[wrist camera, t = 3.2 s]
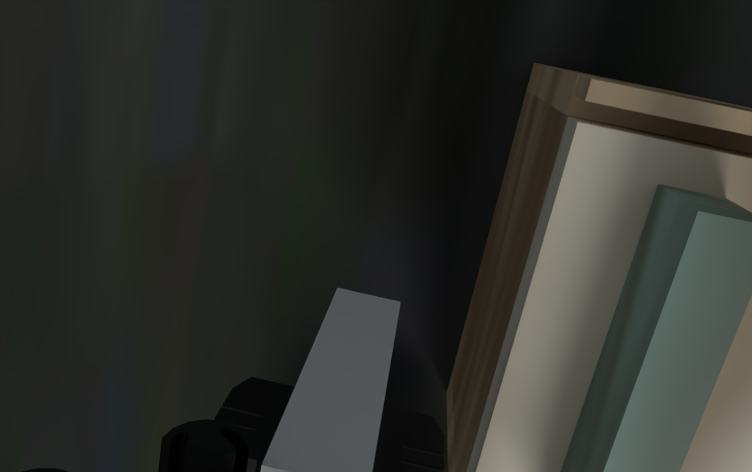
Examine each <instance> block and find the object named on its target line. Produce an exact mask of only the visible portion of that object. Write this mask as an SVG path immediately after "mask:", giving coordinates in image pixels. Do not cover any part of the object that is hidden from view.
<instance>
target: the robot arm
mask: <svg viewBox="0 0 752 472" xmlns="http://www.w3.org/2000/svg"><path fill="white" fill-rule="evenodd" d="M400 303H401V302H399V301H394V300H390V299H385V298H381V297H376V296H372V295H367V294H363V293H359V292H354V291H350V290H345V289H341V288H337V290H336V292H335V295H334V297H333V299H332V302H331V304H330V306H329V309H328V311H327V313H326V316H325V318H324V320H323V323H322V325H321V327H320V330H319V332H318V335H317V337H316V339H315V342H314V344H313V346H312V349H311V351H310V353H309V356H308V358H307V360H306V363H305V365H304V367H303V370H302V372H301V374H300V377H299V379H298V381H297V384H296V386H295V387H293V386H289V385H284V384H280V383H276V382H271V381H267V380H263V379H258V378H254V377H251V378H249V379H247V380H246V381H244V382H242V383H241V384H239V385H237V386H236V387H234V388H233V389H232V390H231V392H230V394H229V395H228V397H227V398H226V400H225V402H224V403H223V406H222V408H220V410H219V412H218V413H217V415H216V417H215V419H214V420H199V421H191V422H187V423H184V424H182V425H179V426H177V427H175V428H173V429H171V430H170V431H169V432H168V433H167V434H166V435H165V436H164V437H163V438H162V443H161V452H160V461H159V470H158V472H443V470H444V458H443V455H444V435H443V433H442V431H441V430H440V428H439V426H438V424H437V423H436V421H435V419H434V418H433V417H432V416H427V415H423V414H419V413H414V412H410V411H406V410H401V409H397V408H393V407H388V406H384V399H385V393H386V387H387V381H388V375H389V369H390V363H391V357H392V351H393V345H394V339H395V333H396V327H397V321H398V315H399V309H400ZM23 472H68V471H64V470H60V469H57V468H36V469H31V470H27V471H23Z"/></svg>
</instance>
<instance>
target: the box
mask: <svg viewBox="0 0 752 472" xmlns="http://www.w3.org/2000/svg"><path fill="white" fill-rule="evenodd" d="M568 116H570V117H575V118H580V119H585V120H589V121H594V122H599V123H604V124H608V125H613V126H618V127H623V128H627V129H632V130H637V131H642V132H646V133H651V134H656V135H661V136H665V137H670V138H675V139H680V140H684V141H689V142H694V143H699V144H703V145H708V146H713V147H718V148H722V149H727V150H732V151H737V152H741V153H746V154H751V155H752V108H750V107H745V106H741V105H736V104H731V103H726V102H721V101H717V100H712V99H707V98H702V97H697V96H693V95H688V94H683V93H678V92H673V91H668V90H664V89H659V88H654V87H649V86H644V85H640V84H635V83H630V82H625V81H620V80H616V79H611V78H606V77H601V76H596V75H592V74H587V73H582V72H577V71H572V70H568V69H563V68H558V67H553V66H548V65H543V64H539V63H533V67H532V71H531V75H530V78H529V82H528V86H527V90H526V94H525V97H524V101H523V105H522V109H521V113H520V116H519V120H518V124H517V128H516V132H515V135H514V139H513V143H512V147H511V151H510V154H509V158H508V162H507V166H506V170H505V173H504V177H503V181H502V185H501V189H500V192H499V196H498V200H497V204H496V207H495V211H494V215H493V219H492V223H491V226H490V230H489V234H488V238H487V242H486V245H485V249H484V253H483V257H482V261H481V264H480V268H479V272H478V276H477V280H476V283H475V287H474V291H473V295H472V299H471V302H470V306H469V310H468V314H467V318H466V321H465V325H464V329H463V333H462V336H461V340H460V344H459V348H458V352H457V355H456V359H455V363H454V367H453V371H452V374H451V378H450V382H449V386H448V390H447V448H448V472H466V471H467V468H468V464H469V461H470V457H471V454H472V450H473V447H474V443H475V440H476V436H477V433H478V429H479V426H480V422H481V419H482V415H483V412H484V408H485V405H486V401H487V398H488V394H489V391H490V387H491V384H492V380H493V377H494V373H495V370H496V366H497V363H498V359H499V356H500V352H501V349H502V345H503V342H504V338H505V335H506V331H507V328H508V324H509V321H510V318H511V314H512V311H513V307H514V304H515V300H516V297H517V293H518V290H519V286H520V283H521V279H522V276H523V272H524V269H525V265H526V262H527V258H528V255H529V251H530V248H531V244H532V241H533V237H534V234H535V230H536V227H537V223H538V220H539V216H540V213H541V209H542V206H543V202H544V199H545V195H546V192H547V188H548V185H549V181H550V178H551V174H552V171H553V167H554V164H555V160H556V157H557V153H558V150H559V146H560V143H561V139H562V136H563V132H564V129H565V126H566V122H567V119H568Z"/></svg>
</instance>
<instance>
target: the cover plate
mask: <svg viewBox="0 0 752 472" xmlns="http://www.w3.org/2000/svg"><path fill="white" fill-rule="evenodd" d="M466 472H752V155H751V154H746V153H741V152H737V151H732V150H727V149H722V148H718V147H713V146H708V145H703V144H699V143H694V142H689V141H684V140H680V139H675V138H670V137H665V136H661V135H656V134H651V133H646V132H642V131H637V130H632V129H627V128H623V127H618V126H613V125H608V124H604V123H599V122H594V121H589V120H585V119H580V118H575V117H570V116H568V119H567V122H566V126H565V129H564V132H563V136H562V139H561V143H560V146H559V150H558V153H557V157H556V160H555V164H554V167H553V171H552V174H551V178H550V181H549V185H548V188H547V192H546V195H545V199H544V202H543V206H542V209H541V213H540V216H539V220H538V223H537V227H536V230H535V234H534V237H533V241H532V244H531V248H530V251H529V255H528V258H527V262H526V265H525V269H524V272H523V276H522V279H521V283H520V286H519V290H518V293H517V297H516V300H515V304H514V307H513V311H512V314H511V318H510V321H509V324H508V328H507V331H506V335H505V338H504V342H503V345H502V349H501V352H500V356H499V359H498V363H497V366H496V370H495V373H494V377H493V380H492V384H491V387H490V391H489V394H488V398H487V401H486V405H485V408H484V412H483V415H482V419H481V422H480V426H479V429H478V433H477V436H476V440H475V443H474V447H473V450H472V454H471V457H470V461H469V464H468V468H467V471H466Z"/></svg>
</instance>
